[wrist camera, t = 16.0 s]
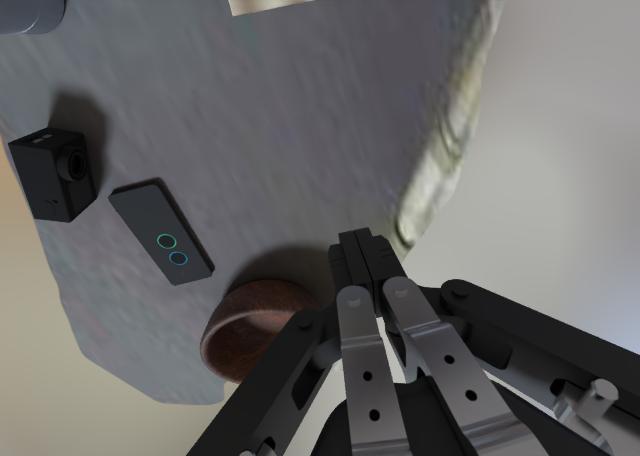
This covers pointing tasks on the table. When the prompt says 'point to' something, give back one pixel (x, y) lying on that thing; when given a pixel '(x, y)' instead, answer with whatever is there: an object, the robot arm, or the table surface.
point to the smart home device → (161, 232)
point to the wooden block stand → (258, 5)
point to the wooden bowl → (249, 325)
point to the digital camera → (54, 173)
